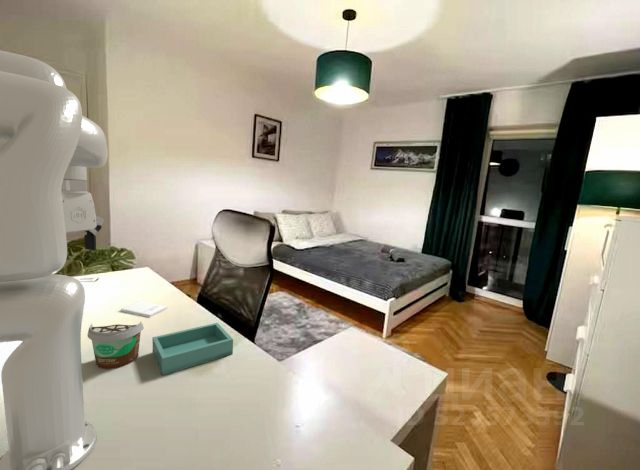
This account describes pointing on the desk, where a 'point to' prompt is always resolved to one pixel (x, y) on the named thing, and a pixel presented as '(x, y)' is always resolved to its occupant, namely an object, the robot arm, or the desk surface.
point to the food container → (115, 344)
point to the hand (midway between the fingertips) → (72, 252)
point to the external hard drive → (143, 309)
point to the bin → (191, 347)
